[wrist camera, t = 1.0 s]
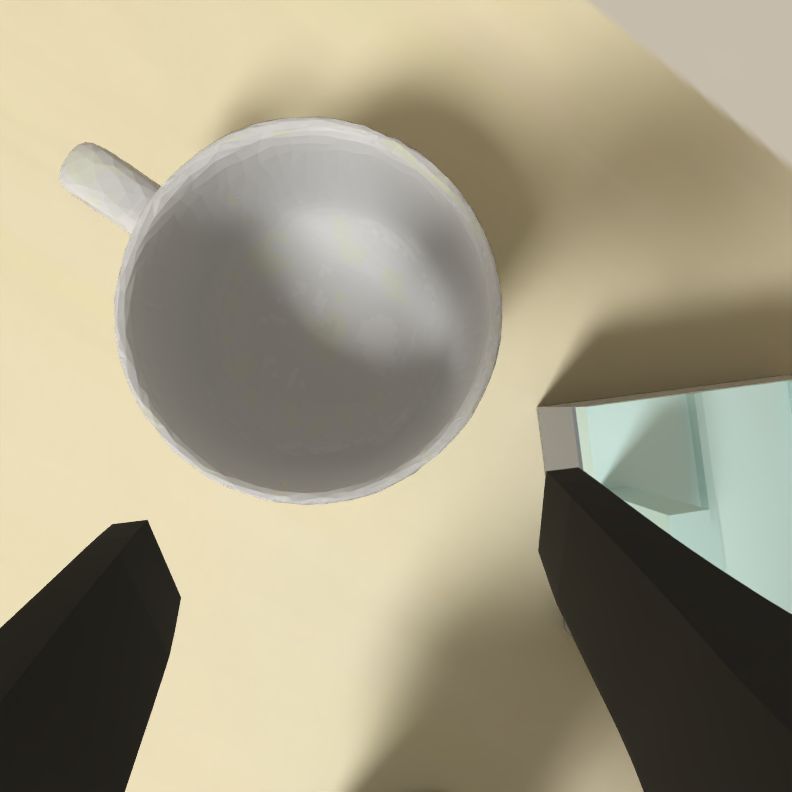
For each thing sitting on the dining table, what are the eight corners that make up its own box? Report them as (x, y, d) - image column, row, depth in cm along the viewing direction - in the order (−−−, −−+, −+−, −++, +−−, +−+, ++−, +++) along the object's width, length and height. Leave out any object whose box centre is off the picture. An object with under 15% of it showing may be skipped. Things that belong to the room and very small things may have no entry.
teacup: (498, 341, 22) (581, 303, 14) (331, 522, 21) (320, 592, 13) (267, 120, 21) (217, -52, 13) (85, 298, 20) (-84, 229, 13)
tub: (781, 375, 23) (857, 370, 20) (809, 587, 23) (890, 618, 20) (536, 407, 22) (571, 407, 19) (565, 629, 22) (605, 671, 18)
